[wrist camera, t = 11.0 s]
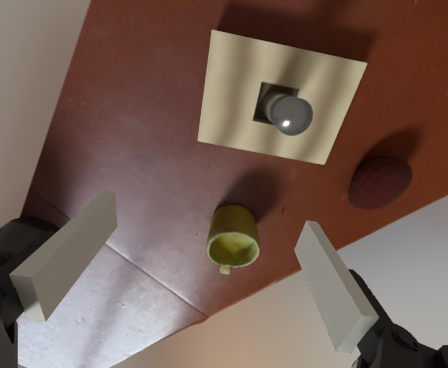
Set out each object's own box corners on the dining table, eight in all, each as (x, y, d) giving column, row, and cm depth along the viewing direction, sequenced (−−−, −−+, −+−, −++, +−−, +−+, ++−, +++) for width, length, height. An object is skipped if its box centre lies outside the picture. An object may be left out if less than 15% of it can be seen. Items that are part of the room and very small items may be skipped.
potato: (404, 163, 36) (435, 178, 30) (359, 206, 40) (379, 226, 34) (374, 141, 34) (401, 153, 29) (330, 188, 38) (346, 206, 33)
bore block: (200, 135, 35) (197, 141, 32) (214, 35, 29) (211, 29, 26) (316, 157, 36) (324, 164, 33) (353, 65, 30) (367, 63, 27)
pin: (258, 115, 32) (271, 132, 21) (263, 89, 30) (281, 94, 20) (281, 118, 32) (306, 138, 21) (287, 93, 31) (318, 101, 20)
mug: (213, 192, 37) (223, 241, 30) (260, 201, 42) (278, 246, 35) (190, 231, 44) (194, 278, 37) (232, 235, 49) (243, 279, 42)
